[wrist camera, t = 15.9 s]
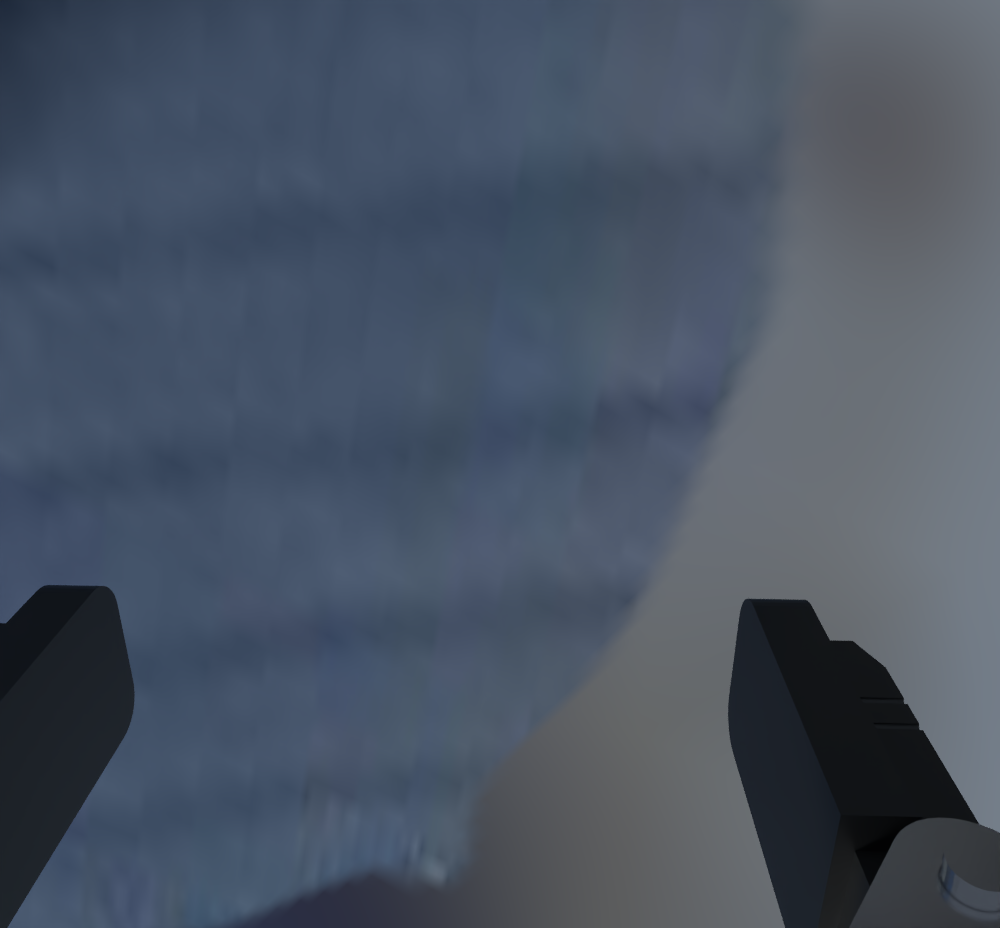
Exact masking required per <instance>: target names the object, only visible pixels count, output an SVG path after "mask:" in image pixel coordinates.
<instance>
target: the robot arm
mask: <svg viewBox="0 0 1000 928" xmlns="http://www.w3.org/2000/svg"><path fill="white" fill-rule="evenodd" d="M133 708H134V684H133V678H132V673H131V668H130V664H129V659H128V654H127V649H126V644H125V639H124V634H123V629H122V624H121V620H120V615H119V610H118V605H117V601H116V598H115V596H114V594H113V592H112V591H111V590H110V589H109V588H108V587H106V586H69V585H46V586H43V587H41V588H40V589H39V590H38V591H36V592H35V594H34V595H33V596H32V597H31V598H30V599H29V600H28V601H27V602H26V603H25V604H24V605H23V606H22V607H21V608H20V609H19V610H18V611H17V612H16V613H15V614H14V616H13V617H12V618H11V619H10V620H9V621H8V622H7V623H6V624H5V623H0V928H7V927H8V926H9V924H10V922H11V921H12V919H13V917H14V916H15V914H16V913H17V911H18V909H19V908H20V906H21V904H22V903H23V901H24V900H25V898H26V896H27V895H28V893H29V891H30V890H31V888H32V886H33V885H34V883H35V882H36V880H37V878H38V877H39V875H40V873H41V872H42V870H43V869H44V867H45V865H46V864H47V862H48V860H49V859H50V857H51V855H52V854H53V852H54V851H55V849H56V847H57V846H58V844H59V842H60V841H61V839H62V838H63V836H64V834H65V833H66V831H67V829H68V828H69V826H70V824H71V823H72V821H73V820H74V818H75V816H76V815H77V813H78V811H79V810H80V808H81V807H82V805H83V803H84V802H85V800H86V798H87V797H88V795H89V793H90V792H91V790H92V789H93V787H94V785H95V784H96V782H97V780H98V779H99V777H100V776H101V774H102V772H103V771H104V769H105V767H106V766H107V764H108V763H109V761H110V759H111V758H112V756H113V754H114V753H115V751H116V749H117V748H118V746H119V745H120V743H121V741H122V740H123V738H124V736H125V734H126V733H127V730H128V728H129V725H130V722H131V718H132V714H133ZM728 720H729V732H730V740H731V745H732V749H733V754H734V757H735V761H736V764H737V767H738V771H739V774H740V777H741V781H742V784H743V787H744V791H745V794H746V798H747V801H748V804H749V807H750V811H751V814H752V817H753V821H754V824H755V828H756V831H757V834H758V838H759V841H760V844H761V848H762V851H763V854H764V858H765V861H766V865H767V868H768V871H769V875H770V878H771V882H772V885H773V888H774V892H775V895H776V898H777V901H778V905H779V908H780V912H781V915H782V918H783V921H784V925H785V928H1000V833H999V832H997V831H995V830H993V829H990V828H988V827H985V826H982V825H980V824H979V823H978V822H977V820H976V818H975V817H974V815H973V813H972V811H971V810H970V808H969V806H968V805H967V803H966V801H965V800H964V798H963V796H962V795H961V793H960V791H959V790H958V788H957V786H956V785H955V783H954V781H953V780H952V778H951V776H950V775H949V773H948V771H947V770H946V768H945V766H944V765H943V763H942V761H941V760H940V758H939V757H938V755H937V753H936V751H935V750H934V748H933V746H932V745H931V743H930V741H929V739H928V738H927V737H926V735H925V733H924V731H923V730H919V723H918V721H917V719H916V718H915V716H914V714H913V713H912V711H911V709H910V708H909V706H908V704H904V698H903V696H902V694H901V693H900V691H899V689H898V688H897V686H896V685H895V683H894V681H893V679H892V678H891V676H890V674H889V673H888V671H887V669H886V668H885V667H884V666H883V665H882V664H881V663H879V662H878V661H877V660H876V659H874V658H873V657H872V656H871V655H869V654H868V653H867V652H865V651H864V650H863V649H862V648H860V647H859V646H858V645H857V644H856V643H855V642H853V641H830V640H829V638H828V636H827V634H826V632H825V630H824V629H823V627H822V625H821V623H820V621H819V619H818V617H817V615H816V613H815V611H814V609H813V608H812V606H811V604H810V603H809V602H808V601H807V600H784V599H783V600H782V599H746V600H745V601H744V602H743V604H742V607H741V611H740V617H739V624H738V632H737V640H736V647H735V656H734V664H733V671H732V678H731V686H730V694H729V705H728Z"/></svg>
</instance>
